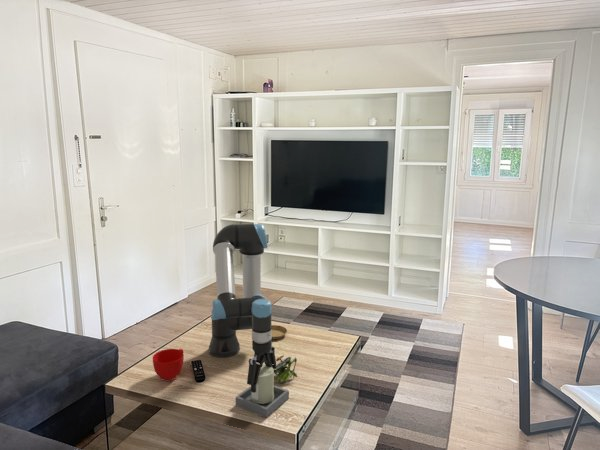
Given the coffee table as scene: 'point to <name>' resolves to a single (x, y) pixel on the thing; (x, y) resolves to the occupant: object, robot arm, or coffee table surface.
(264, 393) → the can
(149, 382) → the coffee table surface
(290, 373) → the passion flower
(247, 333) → the coffee table surface
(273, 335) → the plant saucer
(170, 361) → the red bowl
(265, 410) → the tray
